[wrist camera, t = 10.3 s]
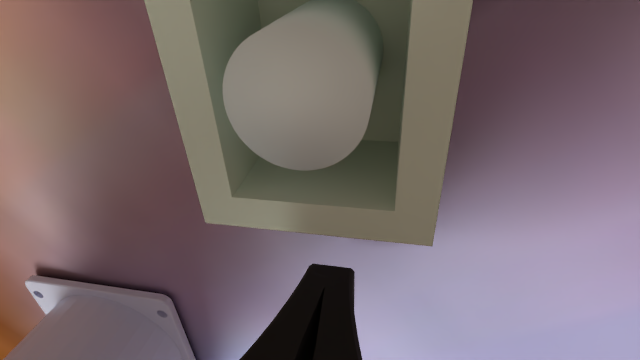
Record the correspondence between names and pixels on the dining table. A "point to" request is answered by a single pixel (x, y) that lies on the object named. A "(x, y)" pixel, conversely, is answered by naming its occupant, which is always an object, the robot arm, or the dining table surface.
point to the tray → (367, 172)
